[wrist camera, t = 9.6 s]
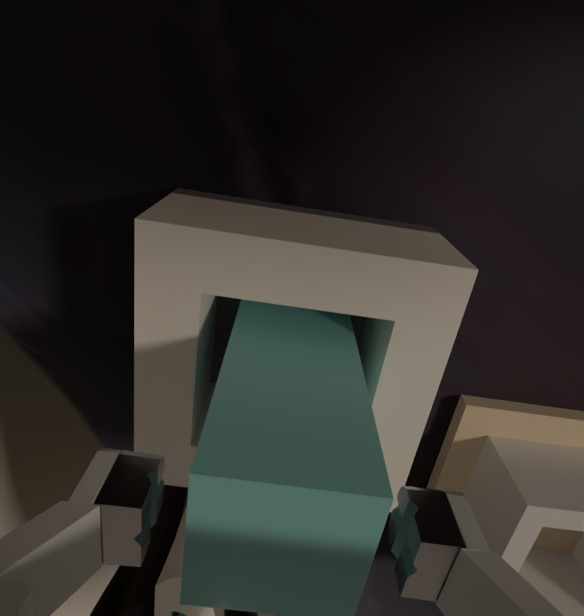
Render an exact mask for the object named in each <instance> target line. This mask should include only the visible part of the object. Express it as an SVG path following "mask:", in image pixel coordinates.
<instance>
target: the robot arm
mask: <svg viewBox="0 0 584 616" xmlns="http://www.w3.org/2000/svg"><path fill="white" fill-rule="evenodd" d="M164 469H165V457H164V456H159V455H153V454H146V453H139V452H133V451H126V450H116V449H110V448H103V447H102V448H100V449H99V450H98V451H97V452H96V454H95V455H94V457H93V459H92V461H91V462H90V464H89V466H88V467H87V469H86V471H85V473H84V474H83V476H82V478H81V479H80V481H79V483H78V484H77V486H76V488H75V490H74V491H73V493H72V495H71V496H70V498H69V500H68V501H60V502H58V503H57V504H55V505H53V506H52V507H50V508H49V509H47V510H45V511H44V512H42V513H41V514H39V515H37V516H36V517H34V518H33V519H31V520H29V521H28V522H26V523H25V524H23V525H21V526H20V527H18V528H17V529H15V530H13V531H12V532H10V533H9V534H7V535H6V536H4V537H2V538H1V539H0V616H50V615H51V614H52V613H53V612H54V611H55V610H56V609H57V608H59V607H60V606H61V605H62V604H63V603H64V602H65V601H66V600H67V599H68V598H69V597H70V596H71V595H72V594H73V593H74V592H75V591H77V590H78V588H80V587H81V586H82V585H83V584H84V583H85V582H86V581H87V580H88V579H89V578H90V577H91V576H92V575H93V574H94V573H96V572H97V571H98V570H99V569H100V568H101V567H102V564H110V565H122V566H134V567H141V565H142V562H143V559H144V557H145V554H146V551H147V548H148V545H149V542H150V532H151V527H152V526H153V525H155V524H156V522H157V519H158V516H159V513H160V508H161V504H162V500H163V493H164V481H163V480H162V479H161V478H162V475H163V472H164ZM397 500H398V504H399V506H397V507H396V508H395V509H393V510H392V513H391V516H390V520H389V531H388V533H389V543H390V549H391V552H392V553H393V554H394V555H395V556H396V557H397V559H398V560H397V563H396V566H395V573H396V578H397V583H398V587H399V592H400V596H401V597H408V598H415V599H422V600H429V601H436V602H437V603H436V604H437V605H438V607H439V608H440V610H441V611H442V612H443V614H444V615H445V616H564V615H563V614H562V613H560V612H559V611H558V610H557V609H556V608H555V607H554V606H553V605H552V604H551V603H550V602H549V601H548V600H547V599H545V598H544V597H543V596H542V595H541V594H540V593H539V592H538V591H537V590H536V589H535V588H534V587H533V586H532V585H530V584H529V583H528V582H527V581H526V580H525V579H524V578H523V577H522V576H521V575H520V574H519V573H518V572H517V571H515V570H514V569H513V568H512V567H511V566H510V565H509V564H508V563H507V562H506V561H505V560H504V559H503V558H502V557H500V556H499V555H498V554H497V553H496V552H490V550H489V548H488V546H487V543H486V541H485V539H484V536H483V534H482V532H481V529H480V527H479V525H478V523H477V520H476V518H475V516H474V513H473V511H472V509H471V506H470V504H469V502H468V499H467V497H466V496H465V495H464V494H463V493H462V492H454V491H445V490H442V491H441V490H435V489H427V488H418V487H409V486H402V487H401V488H400V489H399V492H398V495H397Z"/></svg>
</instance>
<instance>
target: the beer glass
mask: <svg viewBox="0 0 584 616" xmlns="http://www.w3.org/2000/svg"><path fill="white" fill-rule="evenodd" d="M187 500H188V487H180V486H172V485H164V493H163V500H162V504H161V508H160V513H159V516H158V519H157V522H156V524H155V525H153V526H152V527H151V532H150V542H149V545H148V548H147V551H146V554H145V557H144V559H143V562H142V565H141V567H134V566H122V565H120V566H119V567H118V569H117V571H116V572H115V574H114V576H113V577H112V579H111V580H110V582H109V584H108V585H107V587H106V589H105V590H104V592H103V594H102V595H101V597H100V599H99V601H98V602H97V604H96V605H95V607H94V609H93V611H92V612H91V614H90V616H258V613H256V612H247V611H238V610H229V609H219V608H210V607H201V606H192V605H183V604H180V595H181V582H182V568H183V554H184V541H185V527H186V514H187Z"/></svg>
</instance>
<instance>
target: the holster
mask: <svg viewBox="0 0 584 616" xmlns="http://www.w3.org/2000/svg"><path fill="white" fill-rule="evenodd" d="M426 488H427V489H435V490H441V491H442V490H445V491H454V492H462V493H463V494H464V495H465V496H466V497H467V499H468V502H469V504H470V506H471V509H472V511H473V513H474V516H475V518H476V520H477V523H478V525H479V527H480V529H481V532H482V534H483V536H484V539H485V541H486V543H487V546H488V548H489V550H490V552H496V553H497V554H498V555H499V556H500V557H502V558H503V559H504V560H505V561H506V562H507V563H508V564H509V565H510V566H511V567H512V568H513V569H514V570H515V571H517V572H518V573H519V574H520V575H521V576H522V577H523V578H524V579H525V580H526V581H527V582H528V583H529V584H530V585H532V586H533V587H534V588H535V589H536V590H537V591H538V592H539V593H540V594H541V595H542V596H543V597H544V598H545V599H547V600H548V601H549V602H550V603H551V604H552V605H553V606H554V607H555V608H556V609H557V610H558V611H559V612H560V613H562V614H563V615H564V616H584V411H578V410H571V409H564V408H556V407H549V406H541V405H534V404H527V403H519V402H512V401H505V400H497V399H490V398H482V397H475V396H468V395H461V396H460V398H459V401H458V404H457V407H456V409H455V412H454V415H453V417H452V420H451V423H450V425H449V428H448V431H447V434H446V436H445V439H444V442H443V444H442V447H441V450H440V452H439V455H438V458H437V460H436V463H435V466H434V469H433V471H432V474H431V477H430V479H429V482H428V485H427V487H426Z"/></svg>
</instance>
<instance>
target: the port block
mask: <svg viewBox="0 0 584 616" xmlns="http://www.w3.org/2000/svg"><path fill="white" fill-rule="evenodd" d="M477 273H478V269H477V268H476V267H475V266H474V265H473V264H472V263H471V262H470V261H468V260H467V259H466V258H465V257H464V256H463V255H462V254H461V253H460V252H459V251H458V250H457V249H456V248H455V247H453V246H452V245H451V244H450V243H449V242H448V241H447V240H446V239H445V238H444V237H443V236H442V235H441V234H439V233H438V232H437V231H436V230H435V229H434V228H433V227H429V226H423V225H416V224H410V223H403V222H397V221H390V220H384V219H377V218H371V217H364V216H358V215H351V214H344V213H338V212H331V211H325V210H318V209H312V208H305V207H299V206H292V205H286V204H279V203H273V202H266V201H260V200H253V199H247V198H240V197H234V196H227V195H221V194H214V193H208V192H201V191H195V190H188V189H181V188H178V189H176V190H175V191H173V192H172V193H170V194H169V195H168V196H166V197H165V198H163V199H162V200H160V201H159V202H158V203H156V204H155V205H153V206H152V207H150V208H149V209H148V210H146V211H145V212H143V213H142V214H140V215H139V216H138V217H136V218H135V260H134V452H139V453H146V454H153V455H159V456H164V457H165V469H164V472H163V475H162V478H161V479H162V480H163V481H164V485H172V486H180V487H189V473H190V470H191V467H192V463H193V460H194V457H195V453H196V450H197V447H198V443H199V440H200V436H201V433H202V430H203V426H204V423H205V420H206V416H207V413H208V410H209V406H210V403H211V399H212V396H213V393H214V389H215V386H216V383H217V379H218V376H219V373H220V369H221V366H222V362H223V359H224V356H225V352H226V349H227V346H228V342H229V339H230V336H231V332H232V329H233V325H234V322H235V319H236V315H237V312H238V309H239V305H240V302H241V299H244V300H251V301H258V302H265V303H272V304H279V305H286V306H293V307H300V308H307V309H314V310H321V311H328V312H335V313H342V314H349V315H350V317H351V322H352V326H353V330H354V334H355V338H356V343H357V347H358V351H359V355H360V359H361V364H362V368H363V372H364V376H365V380H366V385H367V389H368V393H369V397H370V401H371V406H372V410H373V414H374V418H375V422H376V427H377V431H378V435H379V439H380V443H381V448H382V452H383V456H384V460H385V464H386V469H387V473H388V477H389V481H390V486H391V490H392V494H393V498H394V500H393V503H392V506H391V508H390V511H389V512H392V510H393V509H395V508H396V507H397V506H398V500H397V495H398V492H399V489H400V488H401V487H402V486H405V483H406V480H407V478H408V475H409V472H410V469H411V466H412V463H413V460H414V457H415V454H416V451H417V448H418V445H419V443H420V440H421V437H422V434H423V431H424V428H425V425H426V422H427V419H428V416H429V413H430V410H431V408H432V405H433V402H434V399H435V396H436V393H437V390H438V387H439V384H440V381H441V378H442V375H443V373H444V370H445V367H446V364H447V361H448V358H449V355H450V352H451V349H452V346H453V343H454V340H455V338H456V335H457V332H458V329H459V326H460V323H461V320H462V317H463V314H464V311H465V308H466V305H467V303H468V300H469V297H470V294H471V291H472V288H473V285H474V282H475V279H476V276H477Z"/></svg>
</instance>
